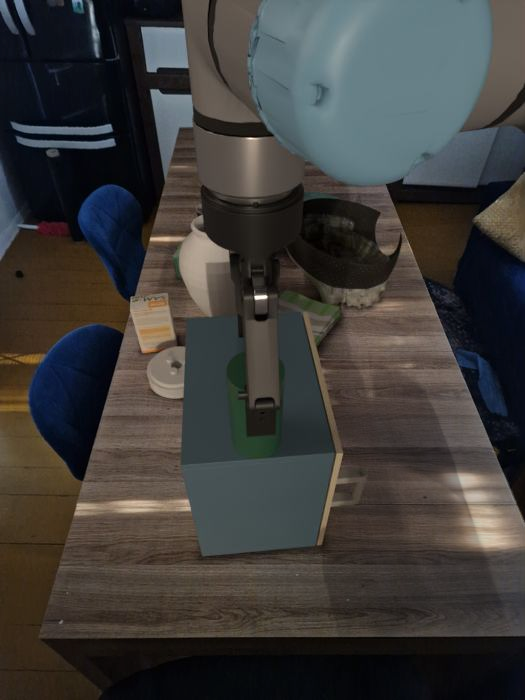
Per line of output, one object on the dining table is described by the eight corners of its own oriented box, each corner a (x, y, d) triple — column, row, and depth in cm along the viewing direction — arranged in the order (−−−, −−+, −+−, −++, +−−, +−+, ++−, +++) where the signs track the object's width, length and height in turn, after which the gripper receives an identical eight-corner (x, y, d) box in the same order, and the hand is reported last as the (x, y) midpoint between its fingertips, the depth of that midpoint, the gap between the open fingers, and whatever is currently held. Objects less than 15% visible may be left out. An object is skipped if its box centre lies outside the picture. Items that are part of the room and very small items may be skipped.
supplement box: (177, 335, 107) (169, 291, 97) (177, 349, 103) (169, 305, 94) (141, 339, 106) (130, 295, 96) (141, 354, 102) (129, 309, 93)
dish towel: (234, 345, 104) (233, 334, 102) (283, 293, 118) (283, 282, 116) (299, 373, 98) (300, 362, 96) (343, 315, 112) (344, 304, 110)
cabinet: (292, 415, 90) (301, 311, 71) (315, 546, 72) (335, 453, 53) (202, 422, 89) (186, 318, 70) (202, 556, 70) (180, 465, 51)
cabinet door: (323, 412, 90) (339, 310, 72) (353, 542, 72) (386, 449, 53) (293, 414, 90) (302, 312, 71) (316, 545, 72) (336, 453, 53)
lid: (156, 408, 91) (152, 392, 88) (144, 366, 100) (140, 350, 96) (216, 391, 94) (214, 375, 91) (199, 351, 103) (197, 335, 99)
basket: (374, 241, 137) (384, 190, 126) (401, 315, 112) (417, 260, 101) (281, 241, 137) (283, 190, 125) (288, 316, 112) (291, 261, 100)
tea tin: (284, 457, 52) (288, 390, 44) (232, 461, 52) (227, 394, 43) (278, 415, 57) (281, 347, 48) (230, 419, 56) (225, 351, 48)
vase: (200, 346, 104) (187, 253, 87) (178, 302, 116) (163, 212, 98) (269, 325, 109) (271, 233, 92) (242, 285, 121) (238, 197, 103)
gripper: (341, 282, 24) (310, 484, 38) (282, 120, 41) (276, 302, 56) (197, 290, 23) (222, 491, 38) (200, 122, 41) (216, 305, 56)
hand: (254, 379), depth 47 cm, fingers open, 13 cm apart
